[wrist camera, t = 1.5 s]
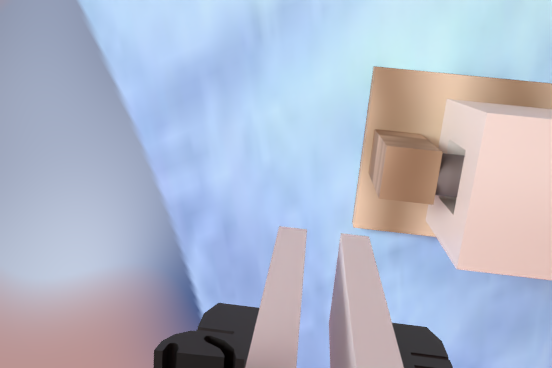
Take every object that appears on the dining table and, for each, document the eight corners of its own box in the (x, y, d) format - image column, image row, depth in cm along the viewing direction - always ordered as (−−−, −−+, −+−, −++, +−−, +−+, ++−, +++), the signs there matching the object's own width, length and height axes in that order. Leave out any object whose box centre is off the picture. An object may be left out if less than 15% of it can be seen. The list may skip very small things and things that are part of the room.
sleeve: (425, 220, 34) (456, 269, 26) (446, 98, 32) (487, 112, 24) (533, 232, 33) (597, 285, 26) (561, 110, 31) (640, 128, 24)
